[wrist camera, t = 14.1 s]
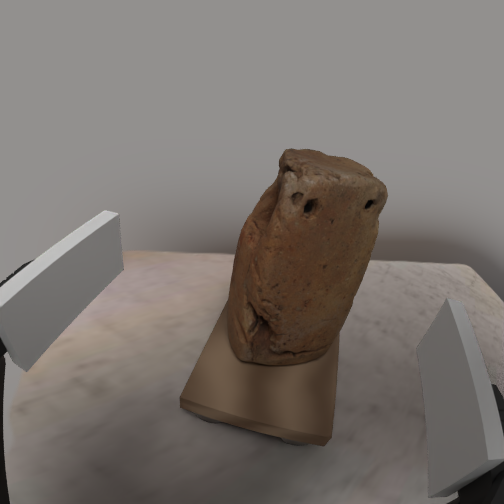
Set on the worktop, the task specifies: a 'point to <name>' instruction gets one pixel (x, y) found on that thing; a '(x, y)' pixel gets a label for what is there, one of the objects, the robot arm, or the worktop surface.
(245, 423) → the slab
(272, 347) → the block
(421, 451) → the worktop surface
